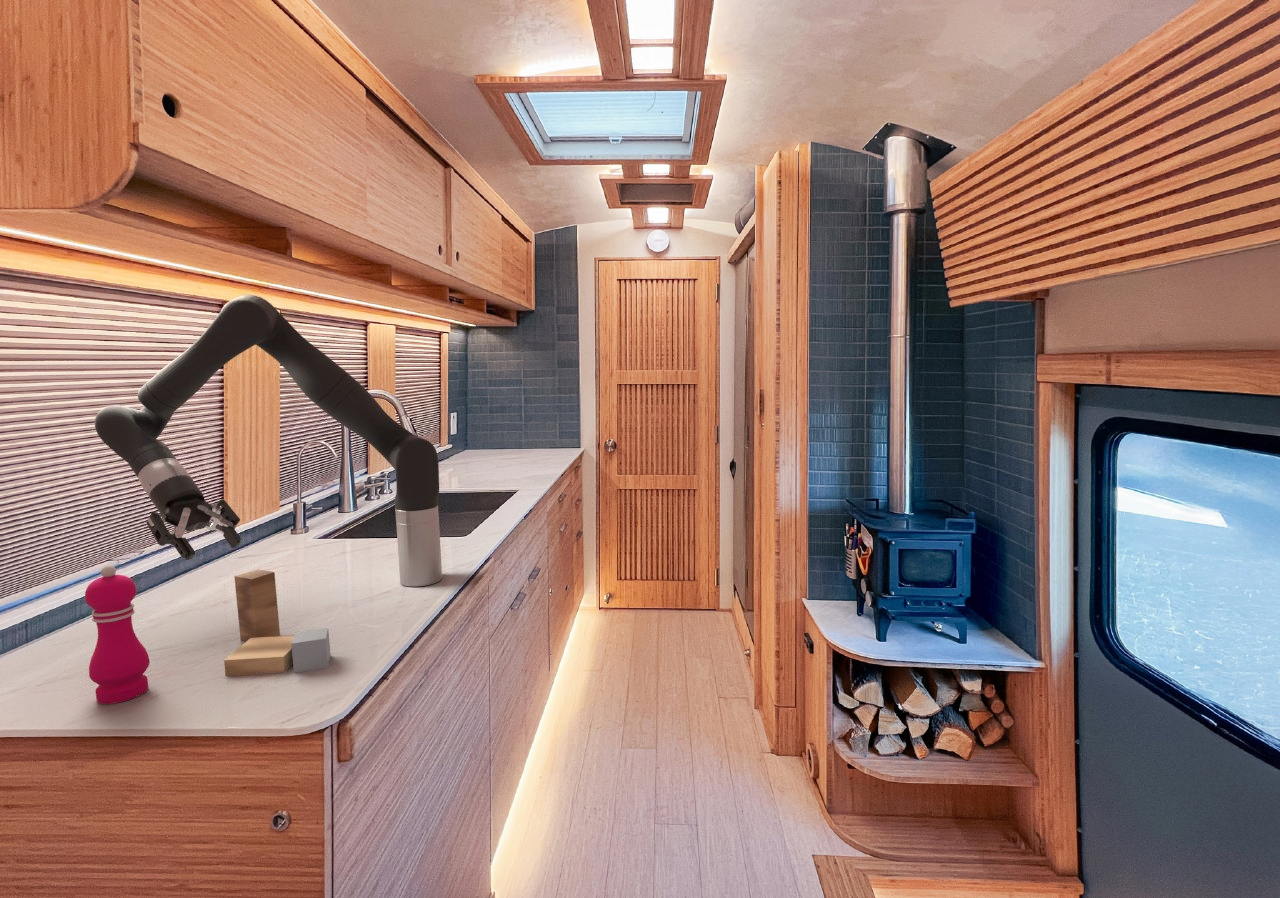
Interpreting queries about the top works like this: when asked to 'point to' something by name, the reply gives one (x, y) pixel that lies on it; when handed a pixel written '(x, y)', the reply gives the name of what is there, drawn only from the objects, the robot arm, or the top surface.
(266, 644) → the oak base
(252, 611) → the walnut pillar
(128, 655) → the pepper mill
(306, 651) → the slate block
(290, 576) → the top surface
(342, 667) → the top surface
